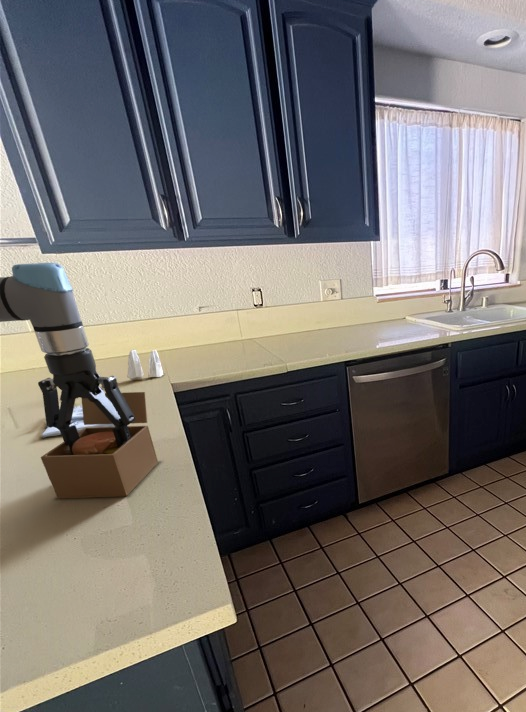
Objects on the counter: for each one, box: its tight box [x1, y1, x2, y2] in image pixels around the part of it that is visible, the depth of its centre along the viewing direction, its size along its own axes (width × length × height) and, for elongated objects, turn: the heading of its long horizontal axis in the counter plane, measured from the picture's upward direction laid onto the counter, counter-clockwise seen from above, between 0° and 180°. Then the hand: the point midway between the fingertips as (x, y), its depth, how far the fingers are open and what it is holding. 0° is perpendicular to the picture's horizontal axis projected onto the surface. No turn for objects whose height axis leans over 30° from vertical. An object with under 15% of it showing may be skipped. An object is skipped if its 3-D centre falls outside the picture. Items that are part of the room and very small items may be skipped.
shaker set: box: [126, 349, 164, 381], centre depth 157 cm, size 12×4×11 cm, turn 123°
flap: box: [81, 391, 148, 425], centre depth 95 cm, size 14×7×1 cm
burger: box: [72, 432, 119, 455], centre depth 89 cm, size 10×9×5 cm
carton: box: [40, 425, 159, 499], centre depth 91 cm, size 14×14×10 cm
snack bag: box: [40, 405, 115, 439], centre depth 123 cm, size 19×20×2 cm
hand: (103, 455), depth 90 cm, fingers closed on burger, 9 cm apart
